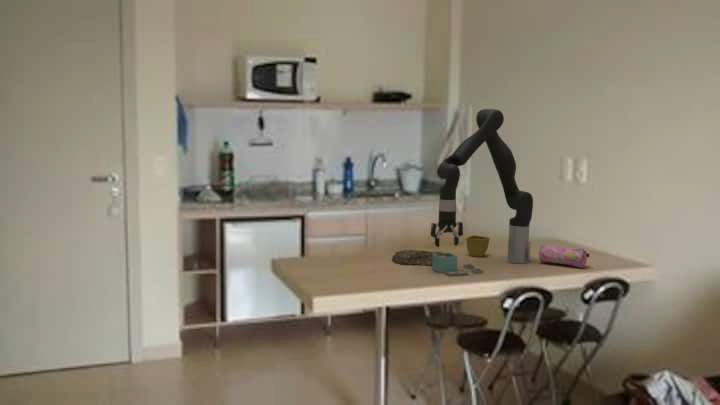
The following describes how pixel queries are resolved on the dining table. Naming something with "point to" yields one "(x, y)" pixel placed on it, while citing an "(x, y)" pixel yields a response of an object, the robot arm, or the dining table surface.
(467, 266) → the frame
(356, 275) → the dining table surface
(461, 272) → the card
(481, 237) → the flower pot
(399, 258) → the stone relief
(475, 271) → the frame
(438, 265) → the teal open box
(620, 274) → the dining table surface
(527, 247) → the robot arm
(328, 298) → the dining table surface
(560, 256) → the pencil case
